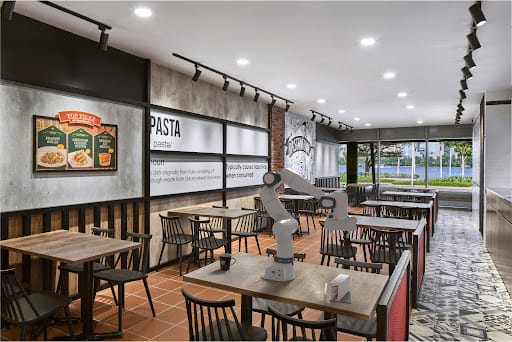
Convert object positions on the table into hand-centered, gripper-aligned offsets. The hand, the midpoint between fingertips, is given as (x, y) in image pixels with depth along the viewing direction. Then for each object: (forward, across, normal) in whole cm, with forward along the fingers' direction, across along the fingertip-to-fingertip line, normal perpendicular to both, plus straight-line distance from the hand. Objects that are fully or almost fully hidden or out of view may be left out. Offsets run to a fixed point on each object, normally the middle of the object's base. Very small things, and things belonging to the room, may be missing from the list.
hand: (339, 237), depth 225 cm
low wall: (+29, +8, +24) cm, 39 cm away
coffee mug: (+29, +77, -5) cm, 83 cm away
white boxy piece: (+29, 0, +25) cm, 38 cm away
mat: (+29, -1, +24) cm, 38 cm away
